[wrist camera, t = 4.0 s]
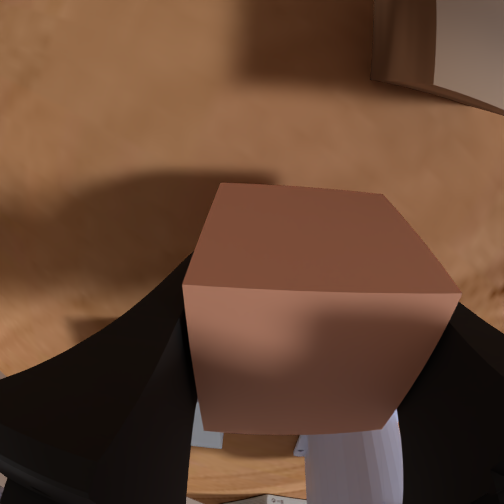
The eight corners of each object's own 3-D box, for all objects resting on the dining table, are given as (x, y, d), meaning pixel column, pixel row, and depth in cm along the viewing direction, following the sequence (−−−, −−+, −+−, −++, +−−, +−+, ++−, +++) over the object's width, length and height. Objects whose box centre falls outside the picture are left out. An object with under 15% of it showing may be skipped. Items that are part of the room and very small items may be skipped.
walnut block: (471, 106, 10) (550, 132, 6) (369, 79, 10) (433, 84, 6) (475, 6, 7) (552, -3, 3) (372, -32, 7) (428, -77, 3)
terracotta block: (352, 316, 12) (381, 428, 7) (222, 312, 12) (203, 430, 7) (382, 194, 9) (462, 293, 5) (220, 182, 9) (182, 284, 5)
